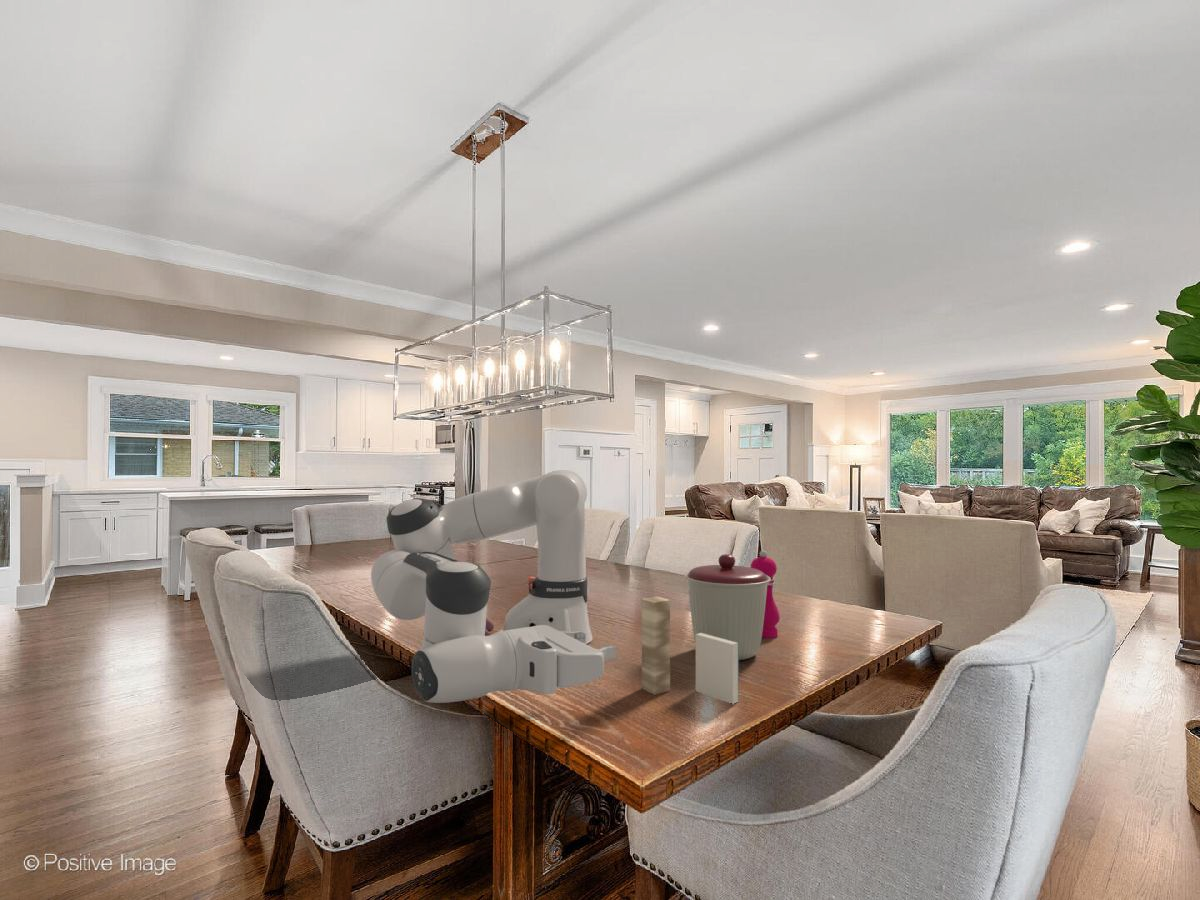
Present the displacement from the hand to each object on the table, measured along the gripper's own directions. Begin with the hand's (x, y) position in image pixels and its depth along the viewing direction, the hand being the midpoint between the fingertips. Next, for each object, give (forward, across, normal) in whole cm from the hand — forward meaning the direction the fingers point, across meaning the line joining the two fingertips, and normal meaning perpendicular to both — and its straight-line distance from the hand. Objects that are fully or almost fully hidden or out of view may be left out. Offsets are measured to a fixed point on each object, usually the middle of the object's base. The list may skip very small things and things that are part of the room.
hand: (598, 643), depth 99 cm
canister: (+38, -9, -10) cm, 40 cm away
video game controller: (-2, -49, -10) cm, 50 cm away
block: (+12, 0, -10) cm, 16 cm away
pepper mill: (+55, -14, -10) cm, 58 cm away
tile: (+20, +8, -10) cm, 24 cm away
